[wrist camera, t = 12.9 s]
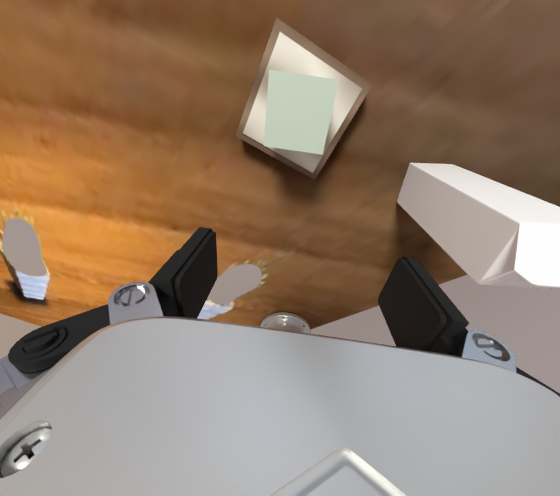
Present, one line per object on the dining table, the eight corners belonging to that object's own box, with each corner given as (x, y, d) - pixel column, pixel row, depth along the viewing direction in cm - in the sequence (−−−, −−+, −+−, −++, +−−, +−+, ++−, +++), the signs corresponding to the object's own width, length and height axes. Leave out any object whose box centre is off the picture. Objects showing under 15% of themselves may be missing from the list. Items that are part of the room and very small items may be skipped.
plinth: (313, 174, 33) (314, 180, 30) (240, 133, 30) (234, 136, 28) (365, 86, 26) (373, 84, 24) (279, 26, 24) (276, 16, 21)
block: (317, 143, 27) (322, 154, 22) (271, 137, 27) (263, 146, 22) (329, 85, 24) (338, 79, 18) (276, 77, 24) (269, 69, 18)
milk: (409, 162, 31) (566, 245, 13) (453, 163, 31) (681, 251, 12) (395, 202, 34) (504, 314, 16) (435, 204, 34) (593, 320, 16)
